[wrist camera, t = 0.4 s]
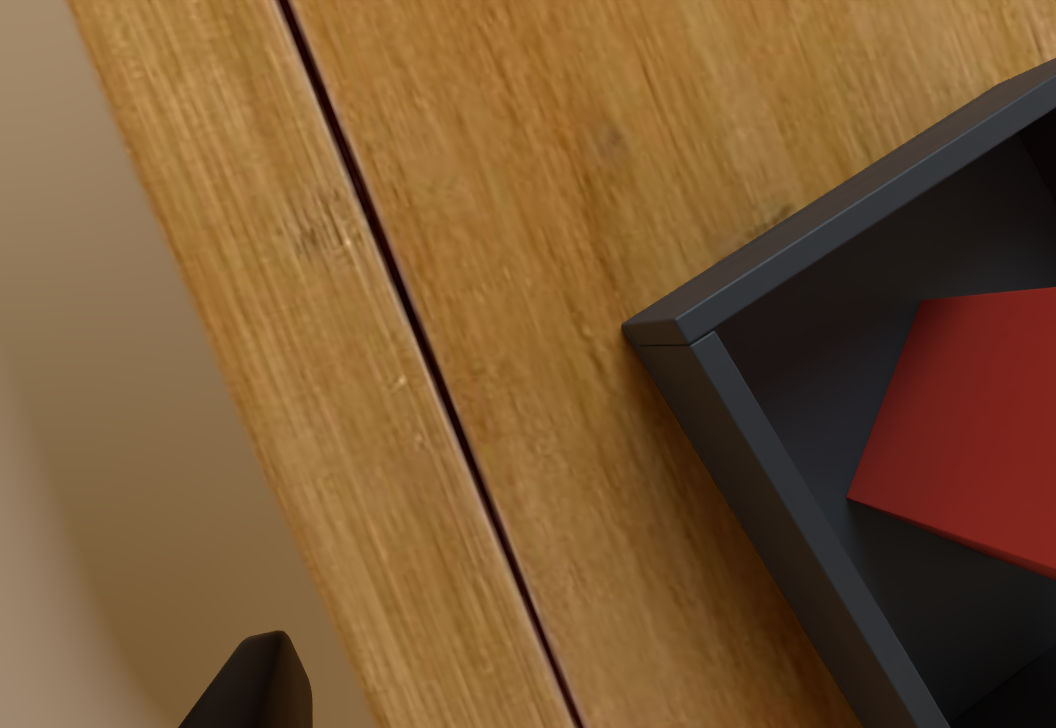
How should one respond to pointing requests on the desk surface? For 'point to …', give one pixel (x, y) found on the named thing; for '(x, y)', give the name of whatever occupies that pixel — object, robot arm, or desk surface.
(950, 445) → the package
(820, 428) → the dark gray tray
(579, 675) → the desk surface
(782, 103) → the desk surface
